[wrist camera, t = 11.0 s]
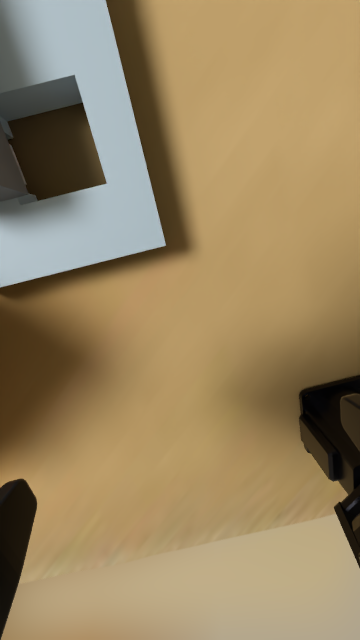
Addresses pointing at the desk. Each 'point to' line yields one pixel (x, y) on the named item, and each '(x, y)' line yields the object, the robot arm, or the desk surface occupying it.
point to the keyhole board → (107, 129)
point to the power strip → (10, 171)
